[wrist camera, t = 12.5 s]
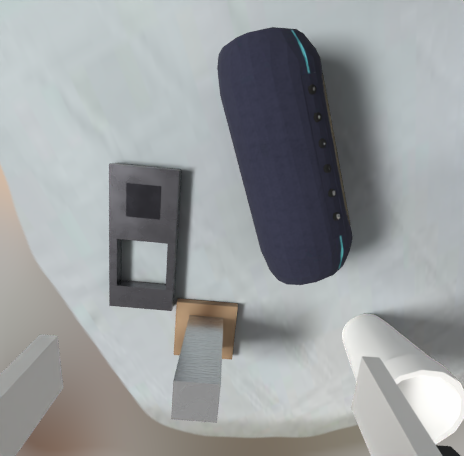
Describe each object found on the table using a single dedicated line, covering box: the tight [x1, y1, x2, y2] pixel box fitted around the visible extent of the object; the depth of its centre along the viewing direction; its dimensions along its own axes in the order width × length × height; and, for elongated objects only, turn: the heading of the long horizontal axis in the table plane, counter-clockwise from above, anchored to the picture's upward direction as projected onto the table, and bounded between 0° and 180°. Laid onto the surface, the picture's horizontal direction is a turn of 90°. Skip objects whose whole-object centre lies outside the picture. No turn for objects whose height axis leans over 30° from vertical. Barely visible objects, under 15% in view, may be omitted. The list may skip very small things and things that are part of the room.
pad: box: [174, 298, 238, 359], centre depth 42 cm, size 8×8×1 cm
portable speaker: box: [218, 27, 352, 285], centre depth 33 cm, size 25×10×10 cm, turn 15°
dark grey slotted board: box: [109, 163, 181, 311], centre depth 39 cm, size 8×18×2 cm, turn 174°
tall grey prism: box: [171, 315, 223, 423], centre depth 36 cm, size 4×4×12 cm
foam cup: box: [342, 314, 464, 444], centre depth 37 cm, size 10×9×13 cm
